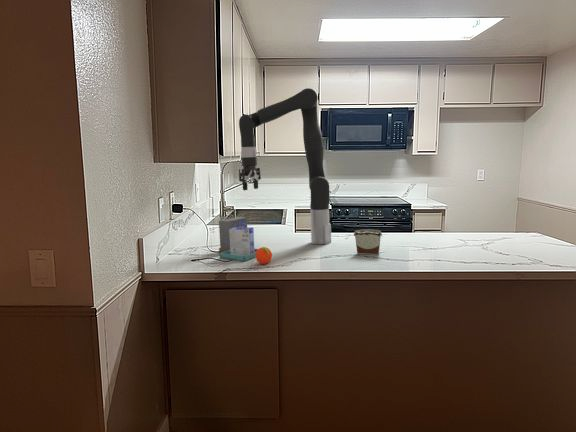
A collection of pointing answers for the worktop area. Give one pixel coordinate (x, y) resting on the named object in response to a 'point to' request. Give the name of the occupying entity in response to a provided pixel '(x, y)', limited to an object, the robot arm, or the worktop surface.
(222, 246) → the printer unit
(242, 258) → the tray
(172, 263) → the worktop surface
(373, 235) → the food container
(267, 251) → the clementine
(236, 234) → the ink cartridge box
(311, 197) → the robot arm
